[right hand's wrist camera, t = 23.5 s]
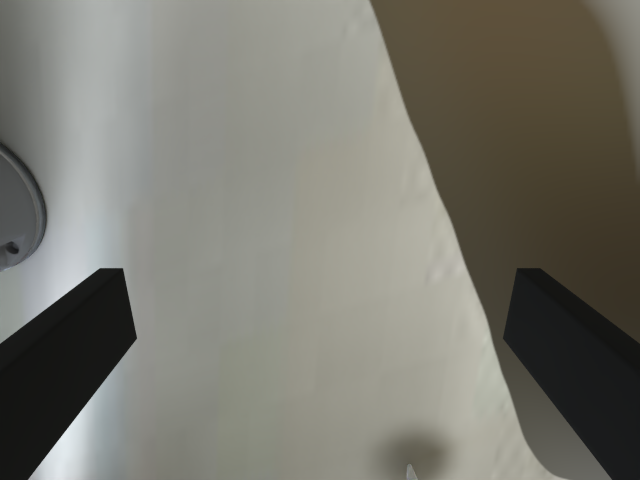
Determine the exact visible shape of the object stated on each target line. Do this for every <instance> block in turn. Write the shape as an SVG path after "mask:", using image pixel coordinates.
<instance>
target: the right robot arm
mask: <svg viewBox="0 0 640 480" xmlns="http://www.w3.org/2000/svg"><path fill="white" fill-rule="evenodd" d="M45 223H46V214H45V207H44V202H43V199H42V196H41V193H40V190H39V188H38V186H37V184H36V182H35V180H34V179H33V177H32V175H31V174H30V172H29V171H28V170H27V168H26V167H25V166H24V165H23V163H22V162H21V161H20V160H19V159H18V158H17V157H16V156H15V155H14V154H13V153H12V152H11V151H10V150H8V149H7V148H6V147H5V146H3V145H2V144H0V272H1V271H4V270H6V269H9V268H11V267H13V266H15V265H17V264H18V263H20V262H22V261H24V260H25V259H27V258H28V257H29V256H30V255H31V254H32V253H33V252H34V251H35V250H36V249H37V247H38V246H39V244H40V242H41V240H42V237H43V234H44V230H45ZM136 339H137V336H136V331H135V326H134V321H133V316H132V311H131V306H130V301H129V296H128V291H127V286H126V281H125V276H124V272H123V268H100V269H98V270H97V271H96V272H94V273H93V274H92V275H90V276H89V277H88V278H86V279H85V280H84V281H82V282H81V283H80V284H79V285H77V286H76V287H75V288H73V289H72V290H71V291H69V292H68V293H67V294H65V295H64V296H63V297H61V298H60V299H59V300H57V301H56V302H55V303H53V304H52V305H51V306H50V307H48V308H47V309H46V310H44V311H43V312H42V313H40V314H39V315H38V316H36V317H35V318H34V319H32V320H31V321H30V322H28V323H27V324H26V325H24V326H23V327H22V328H20V329H19V330H18V331H17V332H15V333H14V334H13V335H11V336H10V337H9V338H7V339H6V340H5V341H3V342H2V343H1V344H0V480H28V479H29V478H30V476H31V475H32V474H33V472H34V471H35V470H36V468H37V467H38V466H39V465H40V463H41V462H42V461H43V459H44V458H45V457H46V456H47V454H48V453H49V452H50V450H51V449H52V448H53V446H54V445H55V444H56V443H57V441H58V440H59V439H60V437H61V436H62V435H63V433H64V432H65V431H66V430H67V428H68V427H69V426H70V424H71V423H72V422H73V421H74V419H75V418H76V417H77V415H78V414H79V413H80V411H81V410H82V409H83V408H84V406H85V405H86V404H87V402H88V401H89V400H90V399H91V397H92V396H93V395H94V393H95V392H96V391H97V389H98V388H99V387H100V386H101V384H102V383H103V382H104V380H105V379H106V378H107V377H108V375H109V374H110V373H111V371H112V370H113V369H114V367H115V366H116V365H117V364H118V362H119V361H120V360H121V358H122V357H123V356H124V355H125V353H126V352H127V351H128V349H129V348H130V347H131V345H132V344H133V343H134V342H135V340H136ZM503 339H504V340H505V342H506V343H507V344H508V345H509V347H510V348H511V349H512V351H513V352H514V353H515V354H516V356H517V357H518V358H519V360H520V361H521V362H522V364H523V365H524V366H525V367H526V369H527V370H528V371H529V373H530V374H531V375H532V377H533V378H534V379H535V380H536V382H537V383H538V384H539V386H540V387H541V388H542V389H543V391H544V392H545V393H546V395H547V396H548V397H549V399H550V400H551V401H552V402H553V404H554V405H555V406H556V408H557V409H558V410H559V411H560V413H561V414H562V415H563V417H564V418H565V419H566V421H567V422H568V423H569V424H570V426H571V427H572V428H573V430H574V431H575V432H576V433H577V435H578V436H579V437H580V439H581V440H582V441H583V443H584V444H585V445H586V446H587V448H588V449H589V450H590V452H591V453H592V454H593V455H594V457H595V458H596V459H597V461H598V462H599V463H600V465H601V466H602V467H603V468H604V470H605V471H606V472H607V474H608V475H609V476H610V477H611V479H612V480H640V344H639V343H638V342H637V341H635V340H634V339H633V338H631V337H630V336H629V335H627V334H626V333H625V332H623V331H622V330H621V329H619V328H618V327H617V326H616V325H614V324H613V323H612V322H610V321H609V320H608V319H606V318H605V317H604V316H602V315H601V314H600V313H598V312H597V311H596V310H594V309H593V308H592V307H590V306H589V305H588V304H586V303H585V302H584V301H582V300H581V299H580V298H579V297H577V296H576V295H575V294H573V293H572V292H571V291H569V290H568V289H567V288H565V287H564V286H563V285H561V284H560V283H559V282H558V281H556V280H555V279H553V278H552V277H551V276H550V275H548V274H547V273H546V272H544V271H543V270H542V269H540V268H517V272H516V276H515V281H514V286H513V291H512V296H511V301H510V306H509V311H508V316H507V321H506V326H505V331H504V336H503Z"/></svg>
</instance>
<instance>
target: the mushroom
mask: <svg viewBox="0 0 640 480" xmlns="http://www.w3.org/2000/svg"><path fill="white" fill-rule="evenodd" d="M407 480H418V479H417V477H416V475H415V472H414V470H413V467H412V465H411V464H408V466H407Z"/></svg>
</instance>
